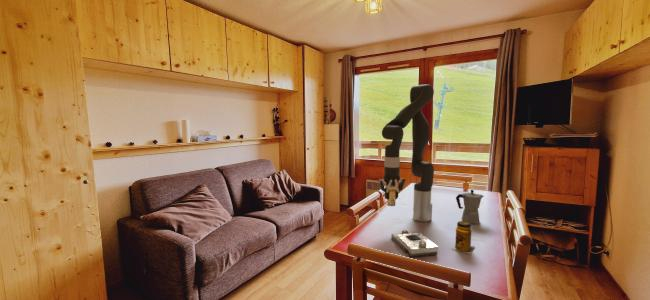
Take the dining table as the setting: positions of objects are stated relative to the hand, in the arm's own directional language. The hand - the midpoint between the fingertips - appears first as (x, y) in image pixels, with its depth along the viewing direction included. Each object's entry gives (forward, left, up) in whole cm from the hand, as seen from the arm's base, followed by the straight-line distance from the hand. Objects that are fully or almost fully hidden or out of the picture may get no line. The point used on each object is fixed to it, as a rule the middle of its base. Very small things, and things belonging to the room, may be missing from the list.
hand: (391, 198), depth 139 cm
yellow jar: (-24, +24, -17) cm, 38 cm away
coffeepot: (-48, -4, -17) cm, 51 cm away
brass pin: (0, 0, -3) cm, 3 cm away
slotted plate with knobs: (-3, +18, -17) cm, 25 cm away
